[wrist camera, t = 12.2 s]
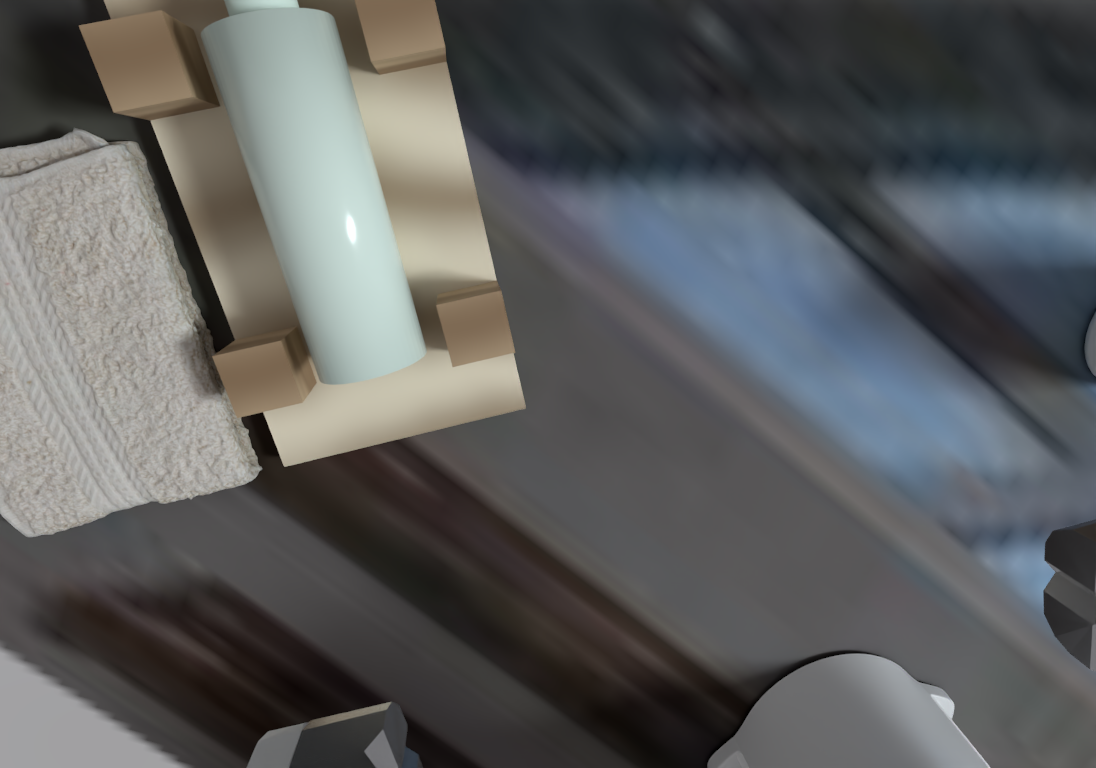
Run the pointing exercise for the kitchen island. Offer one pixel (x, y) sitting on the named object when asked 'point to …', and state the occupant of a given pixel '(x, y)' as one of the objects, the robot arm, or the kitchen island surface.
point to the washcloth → (101, 345)
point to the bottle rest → (246, 248)
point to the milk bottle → (1091, 345)
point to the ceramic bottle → (316, 185)
